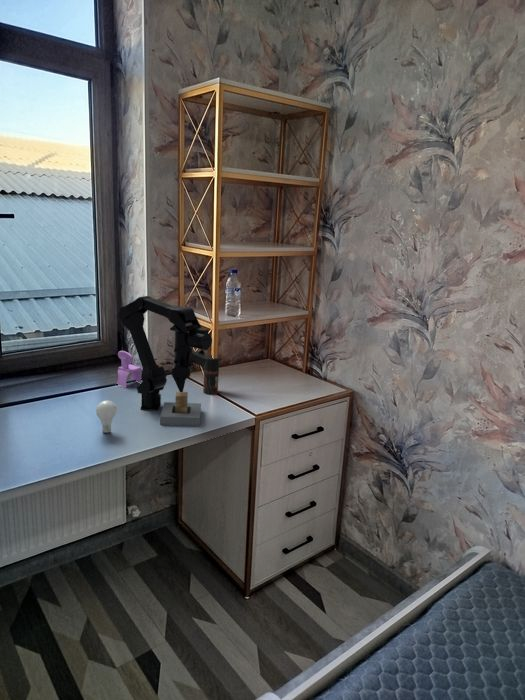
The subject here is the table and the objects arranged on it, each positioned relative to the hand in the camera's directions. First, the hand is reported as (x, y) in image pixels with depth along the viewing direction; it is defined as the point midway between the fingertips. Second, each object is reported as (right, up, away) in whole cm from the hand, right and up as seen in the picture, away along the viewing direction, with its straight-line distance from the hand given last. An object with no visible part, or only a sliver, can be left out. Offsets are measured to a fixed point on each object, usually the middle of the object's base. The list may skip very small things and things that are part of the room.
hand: (182, 387), depth 174 cm
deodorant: (+7, -4, +30) cm, 31 cm away
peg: (-1, -11, +3) cm, 12 cm away
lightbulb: (-23, -14, -13) cm, 29 cm away
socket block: (-1, -11, +3) cm, 12 cm away
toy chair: (-28, -1, +32) cm, 43 cm away
